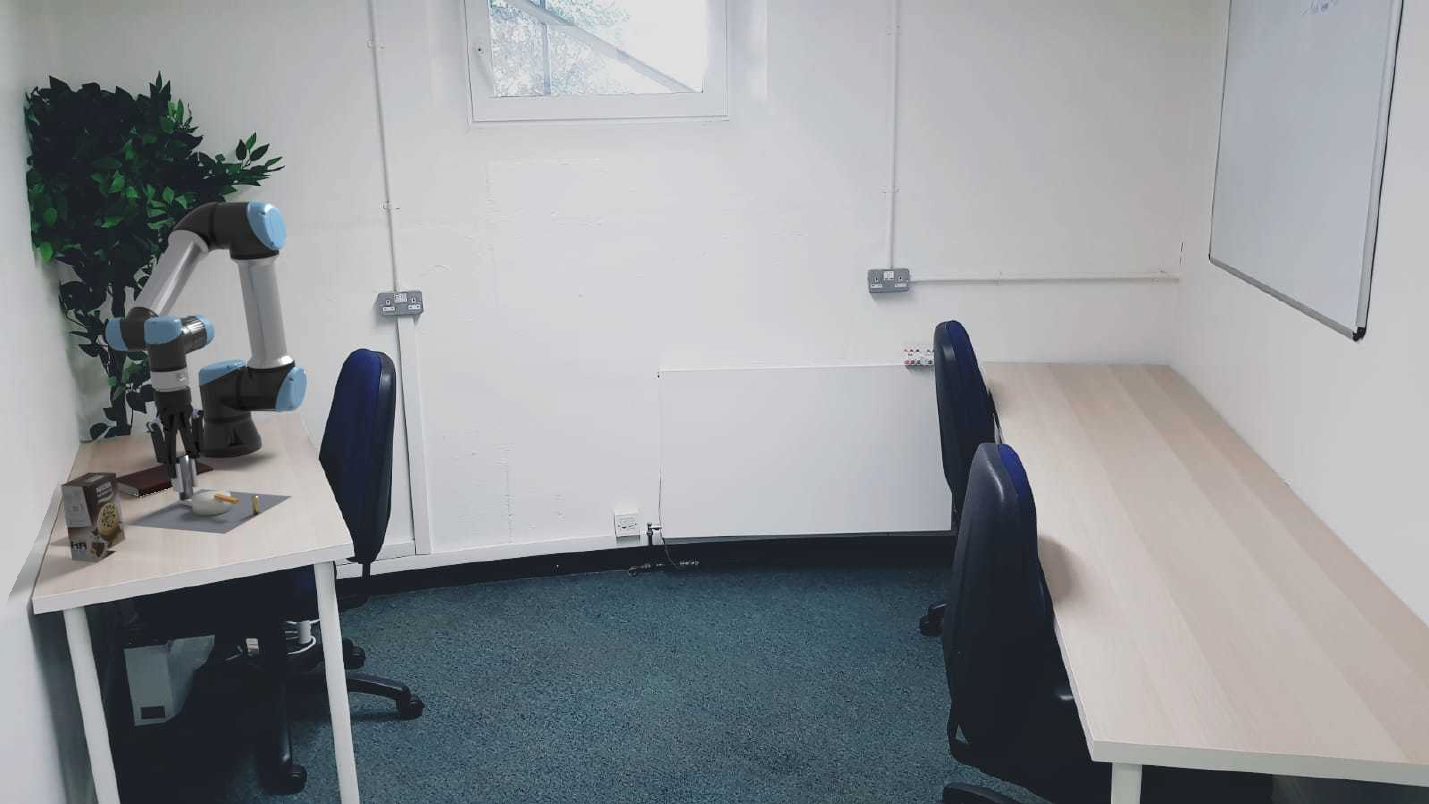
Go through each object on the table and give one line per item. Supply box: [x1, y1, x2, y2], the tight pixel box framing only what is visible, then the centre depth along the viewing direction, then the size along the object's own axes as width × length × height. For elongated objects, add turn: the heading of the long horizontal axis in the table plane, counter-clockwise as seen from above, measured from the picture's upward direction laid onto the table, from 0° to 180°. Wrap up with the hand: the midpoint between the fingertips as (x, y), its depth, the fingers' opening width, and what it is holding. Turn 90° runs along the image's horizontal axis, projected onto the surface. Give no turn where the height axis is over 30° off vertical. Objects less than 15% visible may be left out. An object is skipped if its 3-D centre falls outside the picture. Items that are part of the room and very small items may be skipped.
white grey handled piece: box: [176, 453, 239, 516], centre depth 266 cm, size 20×8×11 cm, turn 58°
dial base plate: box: [128, 488, 292, 534], centre depth 267 cm, size 24×24×6 cm
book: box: [116, 461, 214, 498], centre depth 291 cm, size 12×19×3 cm, turn 145°
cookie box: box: [60, 471, 126, 563], centre depth 245 cm, size 9×6×16 cm
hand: (185, 488), depth 271 cm, fingers open, 3 cm apart
